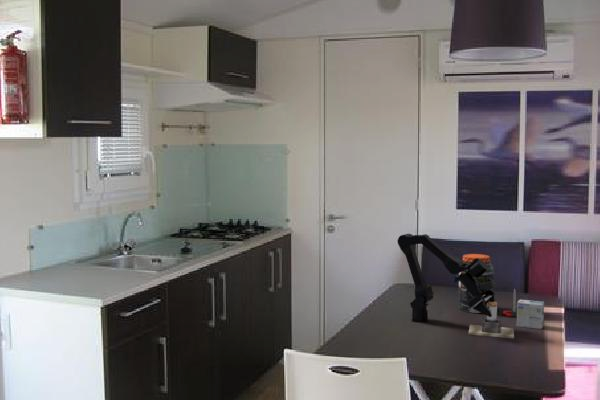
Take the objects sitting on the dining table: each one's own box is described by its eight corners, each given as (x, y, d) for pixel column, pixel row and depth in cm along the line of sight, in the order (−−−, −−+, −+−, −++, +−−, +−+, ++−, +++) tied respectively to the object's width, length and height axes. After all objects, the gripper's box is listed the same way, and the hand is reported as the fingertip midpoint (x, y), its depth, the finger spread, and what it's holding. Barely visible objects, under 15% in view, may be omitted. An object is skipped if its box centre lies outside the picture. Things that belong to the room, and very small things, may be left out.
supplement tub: (495, 308, 333) (497, 254, 331) (488, 315, 320) (490, 259, 317) (462, 304, 341) (464, 252, 338) (454, 311, 327) (455, 256, 324)
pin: (488, 331, 289) (489, 303, 288) (485, 328, 293) (486, 300, 292) (497, 331, 290) (498, 303, 288) (494, 328, 294) (495, 300, 292)
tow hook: (501, 312, 327) (504, 316, 318) (502, 285, 326) (505, 288, 317) (520, 313, 326) (523, 317, 316) (521, 286, 325) (524, 289, 316)
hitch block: (468, 334, 288) (469, 322, 288) (469, 326, 300) (470, 315, 299) (513, 338, 283) (514, 326, 283) (513, 330, 295) (513, 319, 294)
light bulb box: (543, 325, 303) (544, 301, 302) (541, 329, 297) (542, 304, 296) (518, 322, 308) (519, 298, 307) (516, 326, 302) (516, 302, 301)
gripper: (475, 276, 284) (501, 307, 279) (492, 269, 299) (516, 298, 294) (457, 292, 289) (481, 323, 284) (474, 285, 304) (497, 314, 299)
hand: (495, 314), depth 290 cm, fingers open, 9 cm apart
